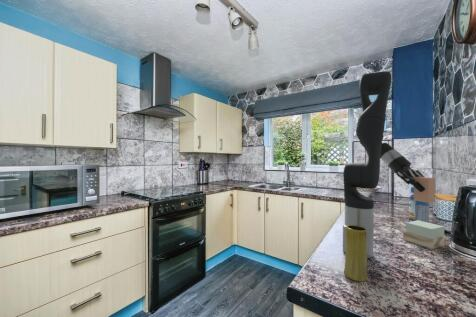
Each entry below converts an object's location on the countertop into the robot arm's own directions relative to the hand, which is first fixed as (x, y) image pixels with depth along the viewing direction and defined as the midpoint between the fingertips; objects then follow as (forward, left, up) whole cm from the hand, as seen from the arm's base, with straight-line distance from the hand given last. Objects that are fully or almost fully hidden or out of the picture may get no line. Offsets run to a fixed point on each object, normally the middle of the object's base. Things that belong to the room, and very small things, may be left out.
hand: (426, 190), depth 85 cm
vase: (-50, -5, -22) cm, 55 cm away
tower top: (0, +1, -18) cm, 19 cm away
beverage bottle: (+28, +16, -22) cm, 39 cm away
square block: (0, +1, -5) cm, 5 cm away
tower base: (0, +1, -22) cm, 22 cm away
